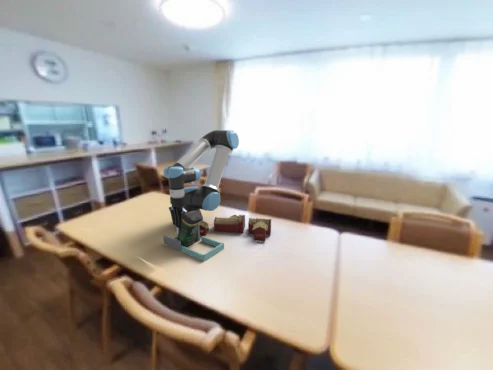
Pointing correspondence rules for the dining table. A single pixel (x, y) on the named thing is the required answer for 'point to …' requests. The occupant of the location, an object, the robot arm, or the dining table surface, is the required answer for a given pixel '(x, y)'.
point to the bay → (177, 241)
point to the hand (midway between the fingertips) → (179, 237)
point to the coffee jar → (189, 227)
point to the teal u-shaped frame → (203, 257)
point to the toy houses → (239, 226)
